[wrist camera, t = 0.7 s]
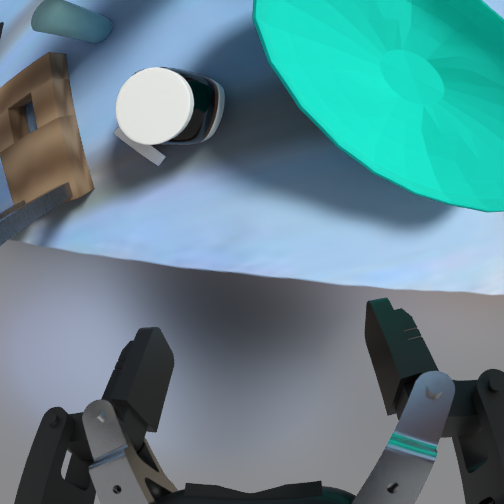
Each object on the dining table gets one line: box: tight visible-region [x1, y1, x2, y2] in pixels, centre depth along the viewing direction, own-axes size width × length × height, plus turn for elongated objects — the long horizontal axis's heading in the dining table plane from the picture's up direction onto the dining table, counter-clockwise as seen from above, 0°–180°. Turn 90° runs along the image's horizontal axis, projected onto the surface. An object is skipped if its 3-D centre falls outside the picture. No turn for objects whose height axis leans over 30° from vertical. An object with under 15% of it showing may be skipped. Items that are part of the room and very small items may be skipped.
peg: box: [31, 0, 112, 43], centre depth 20 cm, size 4×4×12 cm
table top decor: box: [252, 0, 504, 212], centre depth 22 cm, size 40×28×13 cm
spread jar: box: [114, 67, 225, 166], centre depth 27 cm, size 12×11×12 cm
